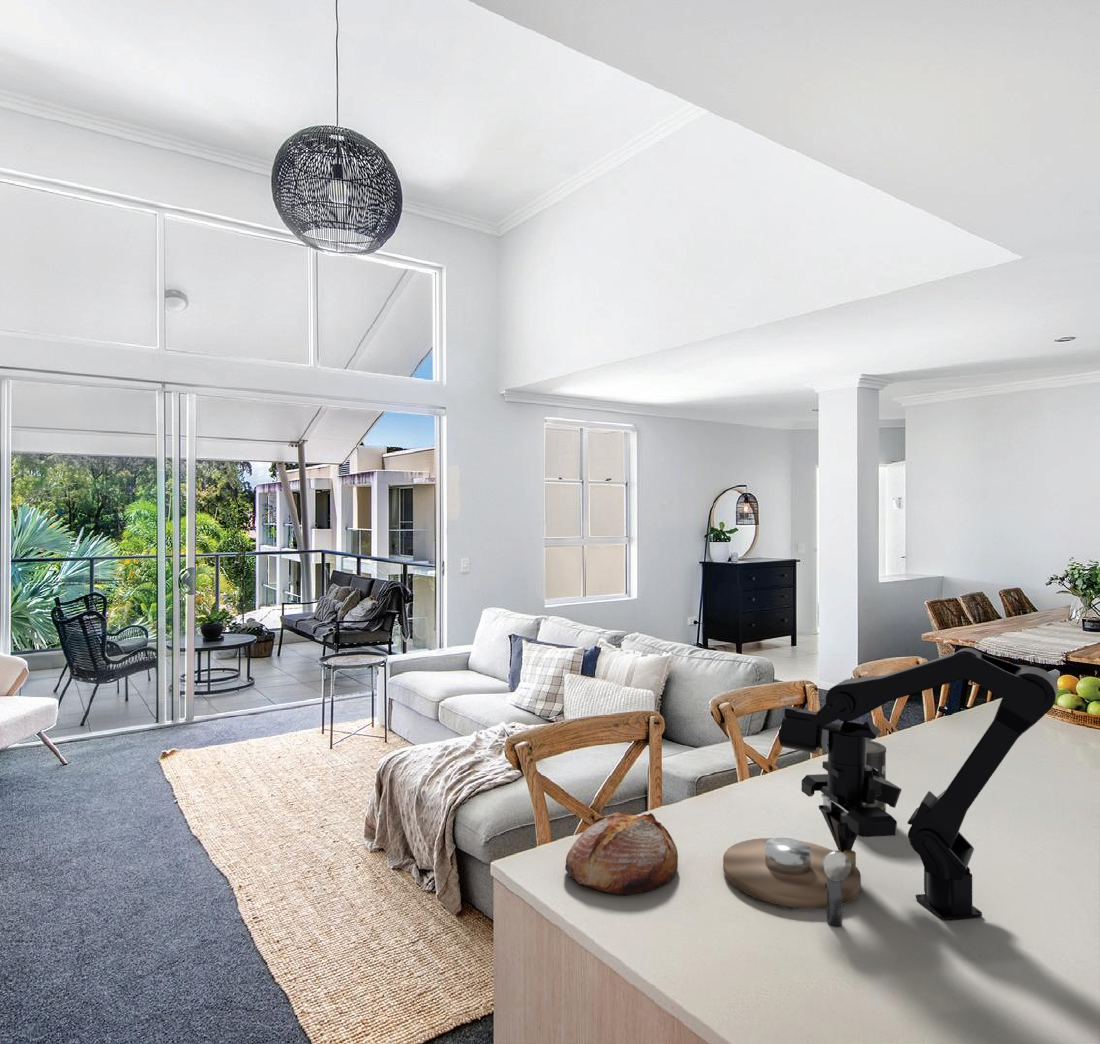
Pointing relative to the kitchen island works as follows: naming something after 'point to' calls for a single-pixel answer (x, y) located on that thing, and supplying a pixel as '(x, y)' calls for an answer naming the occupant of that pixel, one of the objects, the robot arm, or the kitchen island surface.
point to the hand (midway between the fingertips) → (844, 856)
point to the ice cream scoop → (835, 884)
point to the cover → (788, 856)
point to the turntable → (785, 876)
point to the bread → (623, 854)
